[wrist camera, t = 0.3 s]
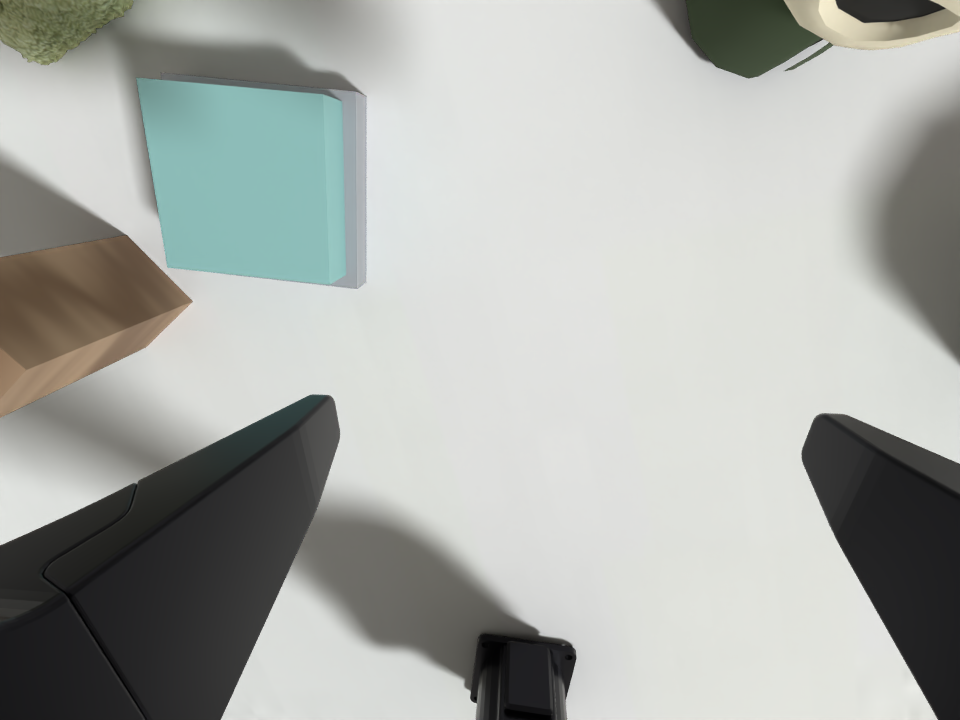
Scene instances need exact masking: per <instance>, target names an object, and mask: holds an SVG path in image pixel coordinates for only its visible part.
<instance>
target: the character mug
mask: <svg viewBox="0 0 960 720" xmlns="http://www.w3.org/2000/svg"><path fill="white" fill-rule="evenodd" d="M686 4H687V10H688V17H689V23H690V29H691V35H692V39H693V40H694V41H695V42H696V44H697V45H698V46H699V47H700V48H701V50H702V51H703V52H704V53H705V54H706V56H707V57H708V58H709V59H710V60H711V62H712V63H713V64H714V65H715V66H716V67H718V68H721V69H723V70H726V71H729V72H732V73H735V74H737V75H740V76H743V77H746V78H753V77H758V76H760V75H762V74H764V73H765V72H767V71H769V70H771V69H773V68H775V67H776V66H778V65H780V64H782V63H784V62H785V61H787V60H789V59H790V58H792V57H793V56H795V55H797V54H798V53H800V52H801V51H803V50H804V49H806V48H808V47H810V46H811V45H813V44H815V43H817V42H819V41H821V40H823V39H824V40H826V41H828V42H829V43H828V44H827V45H826V46H824V47H823V48H821V49H820V50H818V51H817V52H815V53H814V54H812V55H811V56H809V57H808V58H806V59H804V60H802V61H801V62H799V63H797V64H795V65H794V66H792V67H790V68H788V69H787V70H785V71H788V70H793V69H795V68H797V67H798V66H800V65H802V64H804V63H805V62H807V61H809V60H811V59H813V58H814V57H816V56H818V55H820V54H821V53H823V52H824V51H826V50H827V49H829V48H830V47H832V46H833V45H835V46H841V47H847V48H854V49H861V50H879V49H889V48H899V47H903V46H907V45H911V44H914V43H918V42H921V41H924V40H928V39H931V38H935V37H939V36H944V35H948V34H952V33H957V32H960V0H686Z"/></svg>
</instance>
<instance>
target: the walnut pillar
mask: <svg viewBox="0 0 960 720" xmlns="http://www.w3.org/2000/svg"><path fill="white" fill-rule="evenodd" d="M192 302H193V301H192V300H191V299H190V298H189V297H188V296H187V295H186V294H185V293H184V292H183V291H182V290H181V289H180V288H179V287H178V286H177V285H176V284H175V283H174V282H173V281H172V280H171V279H170V278H169V277H168V276H167V275H166V274H165V273H164V272H163V271H162V270H161V269H160V268H159V267H158V266H157V265H156V264H155V263H154V262H153V261H152V260H151V259H150V258H149V257H148V256H147V255H146V254H145V253H144V252H143V251H142V250H141V249H140V248H139V247H138V246H137V245H136V244H135V243H134V242H133V241H132V240H131V239H130V238H129V237H128V236H127V235H124V236H118V237H113V238H107V239H102V240H96V241H90V242H85V243H79V244H73V245H68V246H62V247H56V248H51V249H45V250H39V251H34V252H28V253H23V254H17V255H11V256H6V257H0V418H1V417H3V416H5V415H7V414H9V413H11V412H13V411H15V410H17V409H19V408H21V407H23V406H25V405H28V404H30V403H32V402H34V401H36V400H38V399H40V398H42V397H44V396H46V395H48V394H50V393H52V392H54V391H56V390H59V389H61V388H63V387H65V386H67V385H69V384H71V383H73V382H75V381H77V380H79V379H81V378H83V377H85V376H88V375H90V374H92V373H94V372H96V371H98V370H100V369H102V368H104V367H106V366H108V365H110V364H112V363H114V362H116V361H119V360H121V359H123V358H125V357H127V356H129V355H131V354H133V353H135V352H137V351H139V350H141V349H143V348H145V347H147V346H148V345H149V344H150V343H151V342H152V341H153V340H154V339H155V338H156V337H157V336H158V335H159V334H160V333H161V332H162V331H163V330H164V329H165V328H166V327H167V326H168V325H169V324H170V323H171V322H172V321H173V320H174V319H175V318H176V317H177V316H178V315H179V314H180V313H181V312H182V311H183V310H185V309H186V308H187V307H188V306H189V305H190V304H191V303H192Z"/></svg>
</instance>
